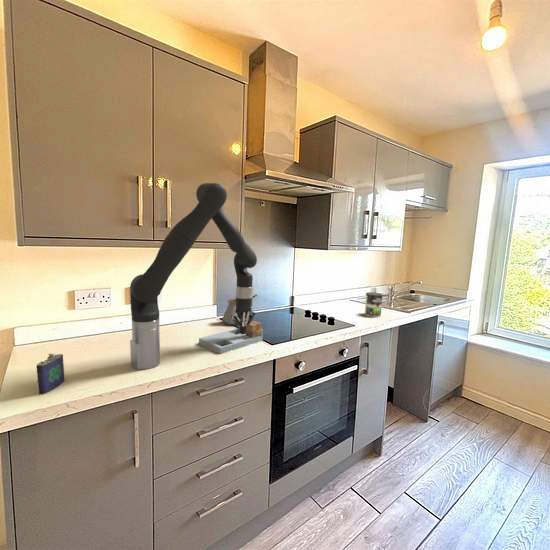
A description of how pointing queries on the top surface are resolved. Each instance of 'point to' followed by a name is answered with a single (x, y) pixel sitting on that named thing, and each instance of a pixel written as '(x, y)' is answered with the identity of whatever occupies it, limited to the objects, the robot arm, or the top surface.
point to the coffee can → (373, 304)
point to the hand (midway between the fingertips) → (242, 333)
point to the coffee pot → (231, 312)
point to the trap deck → (228, 341)
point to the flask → (50, 373)
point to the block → (253, 329)
